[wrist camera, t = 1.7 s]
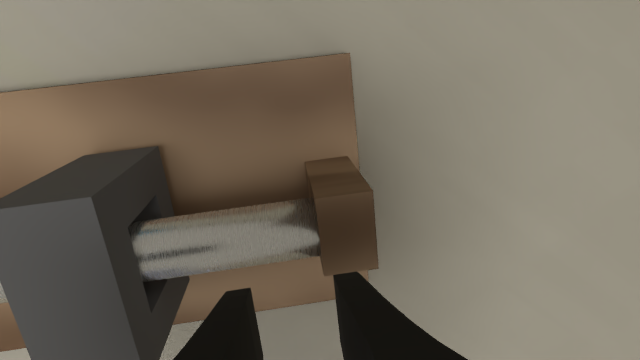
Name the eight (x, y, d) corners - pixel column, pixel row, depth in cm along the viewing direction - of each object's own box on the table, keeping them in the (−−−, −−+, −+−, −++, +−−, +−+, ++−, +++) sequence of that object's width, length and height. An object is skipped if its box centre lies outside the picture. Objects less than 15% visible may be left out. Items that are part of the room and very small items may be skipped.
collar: (189, 279, 19) (148, 387, 13) (123, 289, 18) (49, 404, 12) (158, 145, 17) (91, 196, 11) (84, 155, 17) (-28, 212, 10)
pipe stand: (364, 281, 22) (399, 368, 16) (-164, 362, 20) (-356, 497, 14) (345, 53, 18) (380, 51, 12) (-301, 127, 16) (-643, 168, 10)
